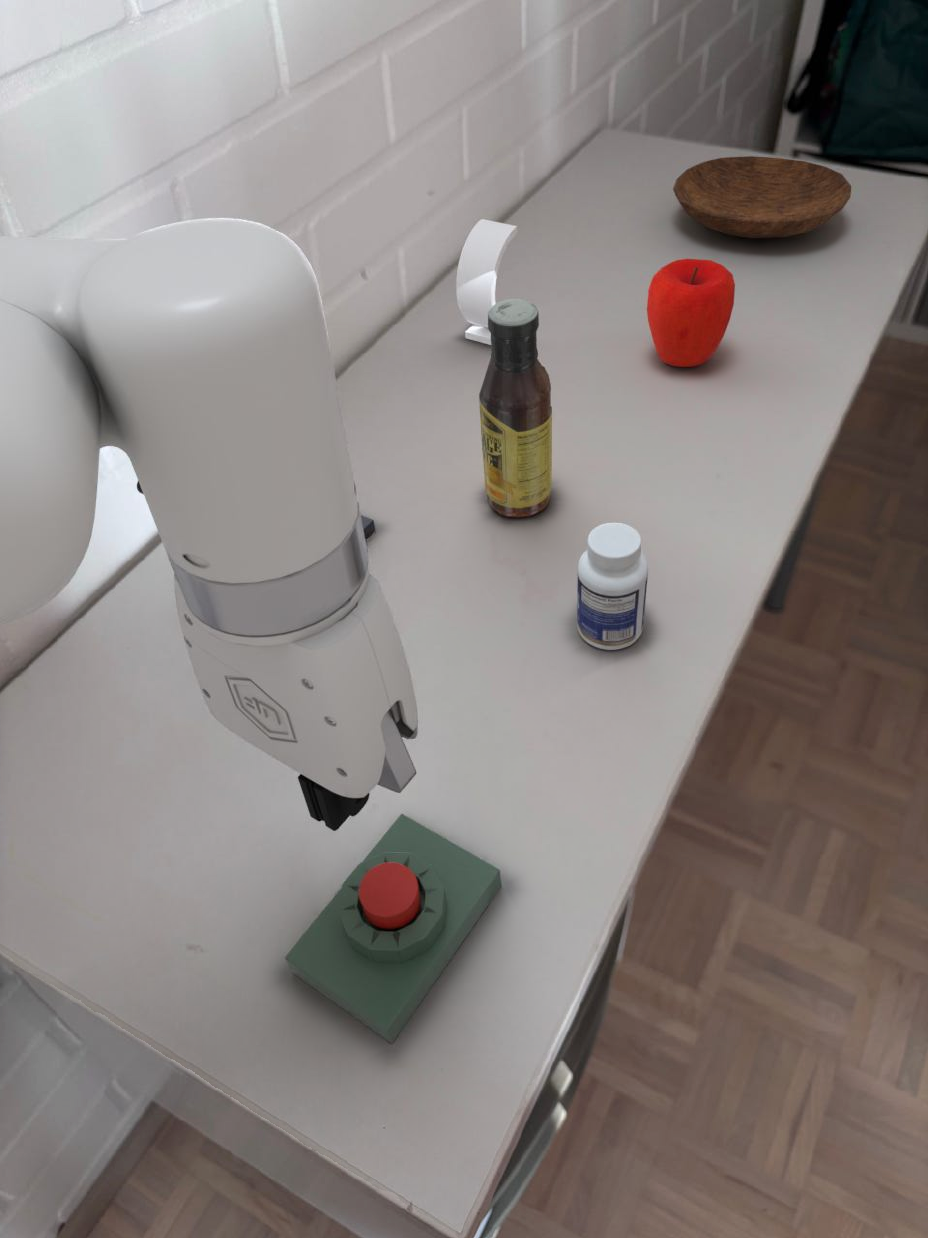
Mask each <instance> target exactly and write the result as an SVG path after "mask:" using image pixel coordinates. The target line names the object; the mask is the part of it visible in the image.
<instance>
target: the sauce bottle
mask: <svg viewBox="0 0 928 1238" xmlns="http://www.w3.org/2000/svg"><path fill="white" fill-rule="evenodd" d="M539 326H540V315H539V310H538V308H537V306H536V305H535V303H533V302H531V301H529V300H524V299H522V298H509V299H504V300H501V301H498V302H496V304H495V305H494V306H493V307H492V308H491V309H490V310H489V312H488V329H489V331H490V333H491V345H490V348H491V349H490V350H491V352H490V359H489V362H488V365H487V368H486V372H485V374H484V378H483V381H482V384H481V387H480V390H479V393H478V402H479V417H480V435H481V449H482V450H481V451H482V462H483V476H484V478H483V479H484V489H485V493H486V498H487V502H488V504H489V505H490V507H491V508H492V509H494V511H496V512H497V514H500V516H504V517H511V518H525V517H530V516H534V515H535V514H537V513H540V512H541V511H543V510H544V509H545V508H546V507H547V506H548V503H549V501H550V497H551V490H552V485H553V484H552V481H553V480H552V478H553V477H552V475H553V473H552V472H553V470H552V469H553V468H552V467H553V461H552V460H553V459H552V458H553V407H552V400H551V399H552V398H551V396H552V395H551V392H552V386H551V384H552V383H551V380H550V375H549V372H547V369H546V367H545V366H543V365H542V363H541V362H540V361H539V359H538V357H539V351H538V347H537V345H538V344H537V343H538V342H537V332H538V330H539Z"/></svg>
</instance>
